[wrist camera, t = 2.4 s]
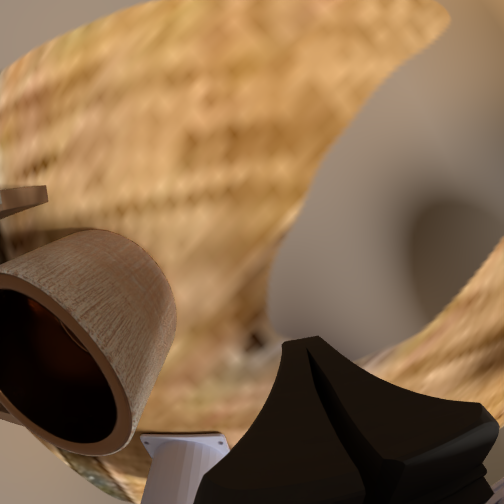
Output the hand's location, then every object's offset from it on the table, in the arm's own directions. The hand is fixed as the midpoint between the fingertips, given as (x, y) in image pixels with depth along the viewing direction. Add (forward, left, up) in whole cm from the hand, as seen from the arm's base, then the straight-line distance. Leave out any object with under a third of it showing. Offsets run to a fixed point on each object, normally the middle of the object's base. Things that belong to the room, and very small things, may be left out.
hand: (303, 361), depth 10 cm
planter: (0, +12, -9) cm, 15 cm away
